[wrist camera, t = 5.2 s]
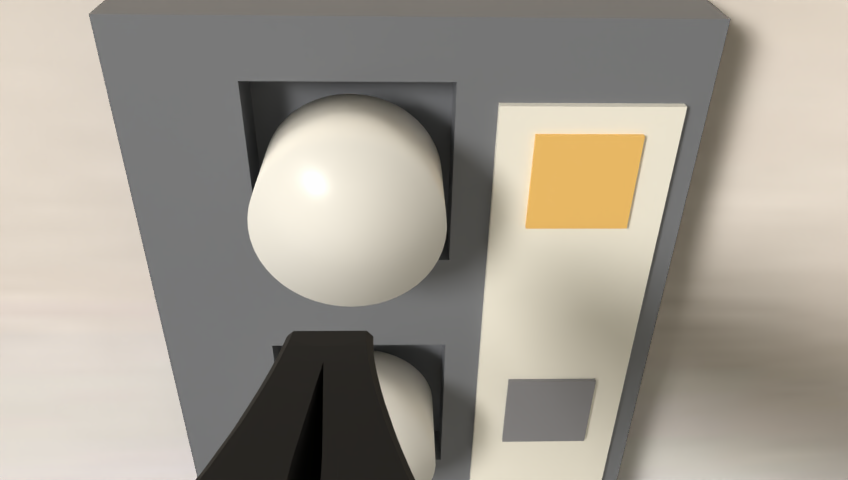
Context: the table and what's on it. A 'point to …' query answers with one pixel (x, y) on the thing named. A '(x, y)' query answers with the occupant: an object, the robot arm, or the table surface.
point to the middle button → (409, 411)
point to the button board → (463, 192)
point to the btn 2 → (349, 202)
